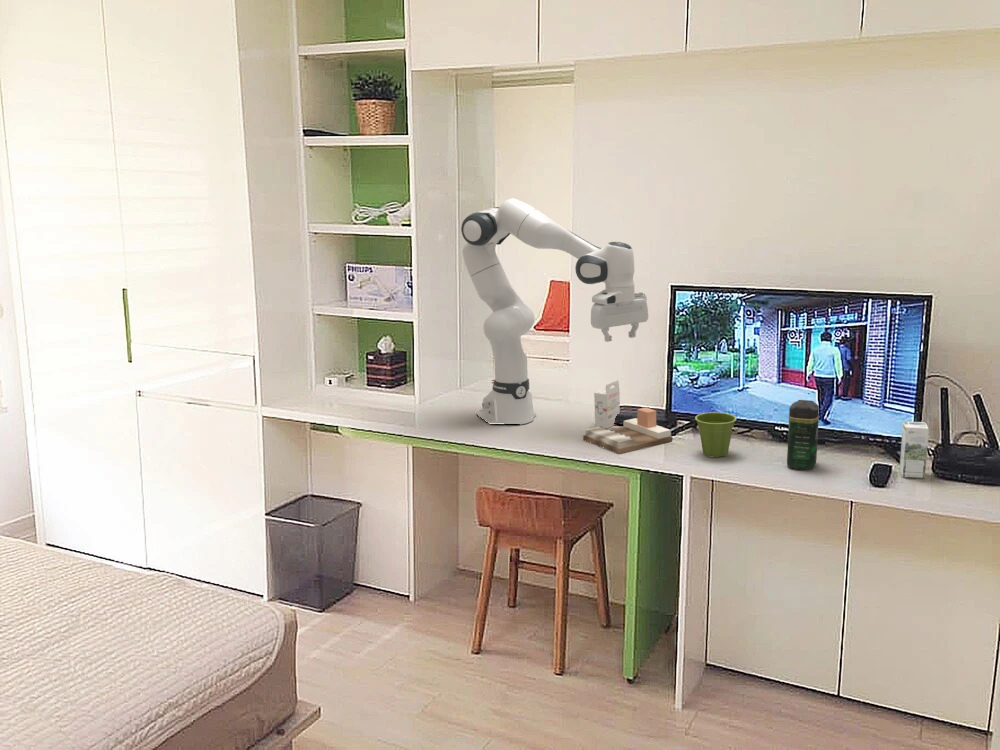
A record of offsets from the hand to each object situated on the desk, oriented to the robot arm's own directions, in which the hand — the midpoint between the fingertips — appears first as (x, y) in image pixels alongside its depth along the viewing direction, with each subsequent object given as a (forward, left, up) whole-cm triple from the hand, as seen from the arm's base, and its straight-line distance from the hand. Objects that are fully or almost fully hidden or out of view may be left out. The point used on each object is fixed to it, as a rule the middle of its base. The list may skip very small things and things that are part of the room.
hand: (620, 339), depth 292 cm
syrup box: (+77, +39, -31) cm, 92 cm away
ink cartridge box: (-12, +4, -31) cm, 34 cm away
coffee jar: (+54, +22, -31) cm, 66 cm away
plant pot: (+32, +10, -31) cm, 46 cm away
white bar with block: (+6, +6, -29) cm, 31 cm away
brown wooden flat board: (+6, -2, -31) cm, 32 cm away
